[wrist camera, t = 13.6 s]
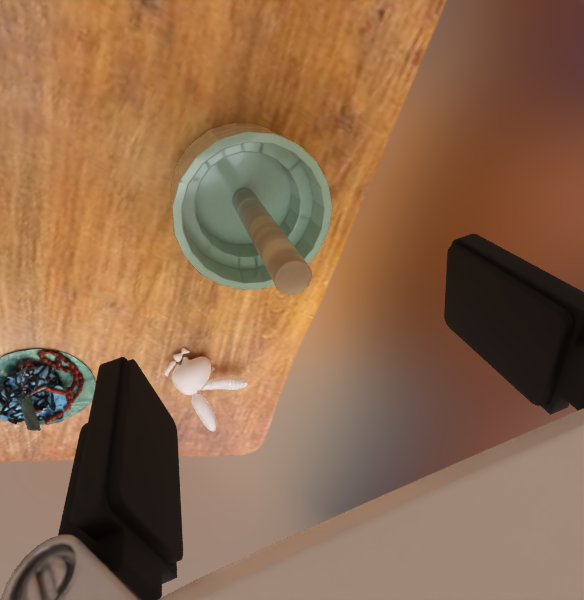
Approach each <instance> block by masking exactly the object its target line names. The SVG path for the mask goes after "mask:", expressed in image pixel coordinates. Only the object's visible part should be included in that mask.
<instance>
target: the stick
mask: <svg viewBox="0 0 584 600" xmlns="http://www.w3.org/2000/svg"><path fill="white" fill-rule="evenodd" d="M232 203H233V206H234V208H235V210H236V212H237V214H238V216H239V218H240V220H241V221H242V223H243V225H244V227H245V229H246V231H247V233H248V235H249V237H250V239H251V240H252V242H253V244H254V246H255V248H256V250H257V252H258V254H259V256H260V258H261V259H262V261H263V263H264V265H265V267H266V269H267V271H268V273H269V275H270V277H271V278H272V280H273V282H274V284H275V286H276V288H277V289H278V290H279V291H280V292H281V293H283V294H286V295H295V294H298V293H300V292H302V291H304V290H305V289H306V288H307V287H308V285H309V284H310V281H311V278H312V272H311V269H310V267H309V265H308V264H307V263H306V261H305V260H304V259H303V257H302V256H301V255H300V253H299V252H298V251H297V249H296V248H295V247H294V245H293V244H292V243H291V241H290V240H289V239H288V237H287V236H286V235H285V234H284V232H283V231H282V230H281V228H280V227H279V226H278V224H277V223H276V222H275V220H274V219H273V218H272V216H271V215H270V214H269V212H268V211H267V210H266V208H265V207H264V206H263V204H262V203H261V202H260V200H259V199H258V198H257V196H256V195H255V194H254V192H253V191H251V190H250V189H246V188H243V189H239V190H238V191H236V192H235V194H234V195H233V198H232Z"/></svg>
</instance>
